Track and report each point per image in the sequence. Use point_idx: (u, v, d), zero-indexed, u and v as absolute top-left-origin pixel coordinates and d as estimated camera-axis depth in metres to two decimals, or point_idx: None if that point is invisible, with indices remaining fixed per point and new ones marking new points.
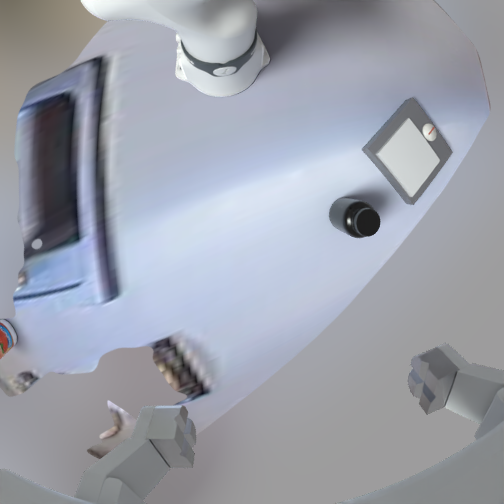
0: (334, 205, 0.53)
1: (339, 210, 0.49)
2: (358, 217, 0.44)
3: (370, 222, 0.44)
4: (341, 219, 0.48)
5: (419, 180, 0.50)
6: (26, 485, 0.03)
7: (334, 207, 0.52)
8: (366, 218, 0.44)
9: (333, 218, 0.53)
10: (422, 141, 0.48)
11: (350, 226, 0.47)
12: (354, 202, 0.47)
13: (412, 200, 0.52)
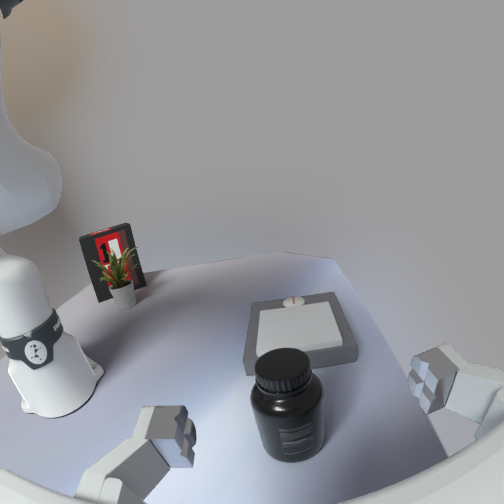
0: None
1: (255, 418, 0.23)
2: (257, 370, 0.22)
3: (284, 360, 0.23)
4: (260, 416, 0.21)
5: (330, 326, 0.40)
6: (26, 485, 0.03)
7: None
8: (272, 362, 0.23)
9: (271, 447, 0.22)
10: (292, 309, 0.47)
11: (274, 403, 0.21)
12: None
13: (350, 344, 0.36)
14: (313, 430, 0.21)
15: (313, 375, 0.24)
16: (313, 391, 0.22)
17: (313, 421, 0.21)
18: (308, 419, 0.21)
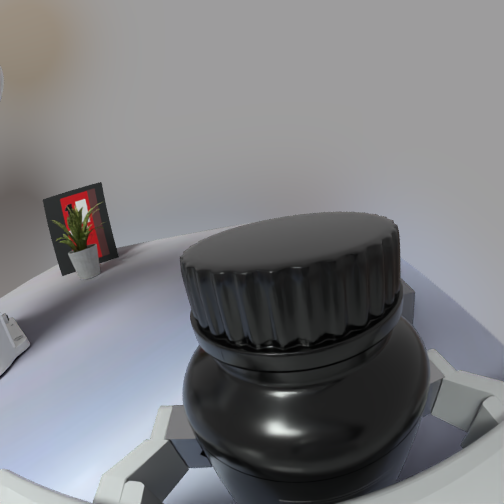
0: None
1: None
2: (190, 256, 0.06)
3: (296, 227, 0.06)
4: (208, 452, 0.05)
5: None
6: (26, 485, 0.03)
7: None
8: (251, 235, 0.06)
9: None
10: None
11: (260, 405, 0.05)
12: None
13: (403, 291, 0.20)
14: (390, 482, 0.05)
15: None
16: (410, 348, 0.05)
17: (401, 458, 0.05)
18: (393, 458, 0.04)
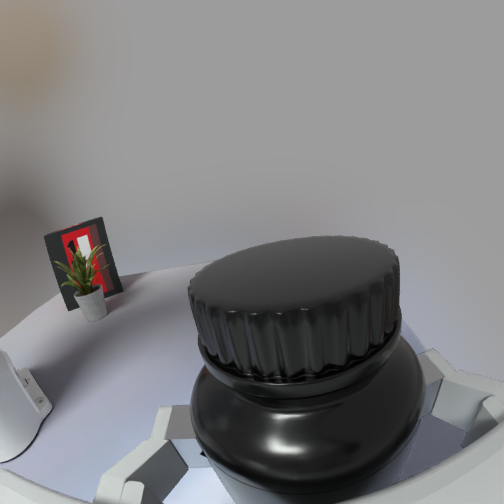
0: None
1: None
2: (197, 287, 0.06)
3: (300, 256, 0.07)
4: (217, 467, 0.05)
5: None
6: (26, 485, 0.03)
7: None
8: (256, 263, 0.07)
9: None
10: None
11: (266, 426, 0.05)
12: None
13: None
14: None
15: None
16: (407, 369, 0.05)
17: (397, 469, 0.05)
18: (390, 469, 0.04)
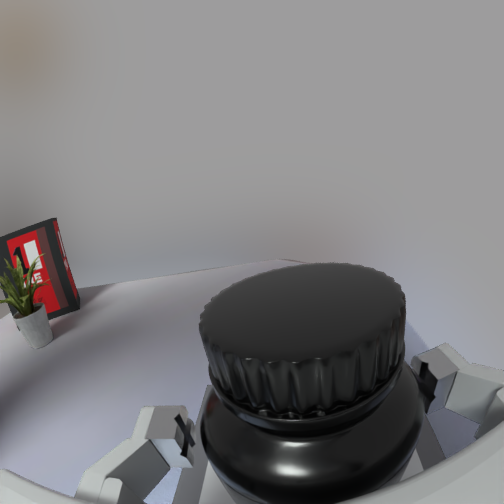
0: None
1: None
2: (209, 325, 0.06)
3: (309, 290, 0.07)
4: (228, 486, 0.05)
5: None
6: (26, 485, 0.03)
7: None
8: (265, 298, 0.07)
9: None
10: None
11: (278, 453, 0.05)
12: None
13: None
14: None
15: None
16: (407, 394, 0.06)
17: (396, 482, 0.05)
18: (390, 484, 0.05)
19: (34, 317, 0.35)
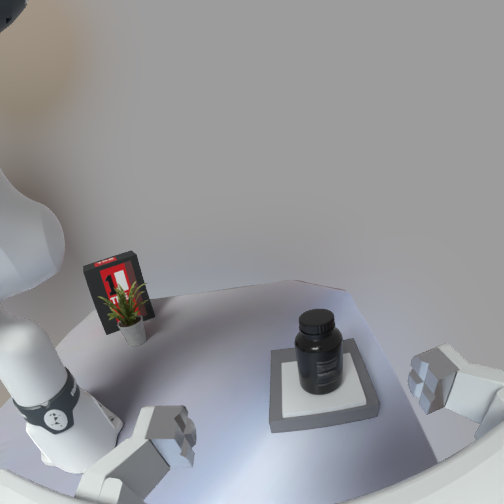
0: (299, 378, 0.39)
1: (298, 360, 0.37)
2: (302, 322, 0.36)
3: (317, 315, 0.37)
4: (303, 354, 0.35)
5: (353, 384, 0.37)
6: (26, 485, 0.03)
7: (299, 376, 0.38)
8: (310, 317, 0.37)
9: (309, 382, 0.36)
10: None
11: (313, 343, 0.35)
12: None
13: (373, 403, 0.33)
14: (337, 364, 0.35)
15: (334, 327, 0.38)
16: (336, 335, 0.36)
17: (337, 356, 0.35)
18: (334, 354, 0.34)
19: (138, 325, 0.65)
